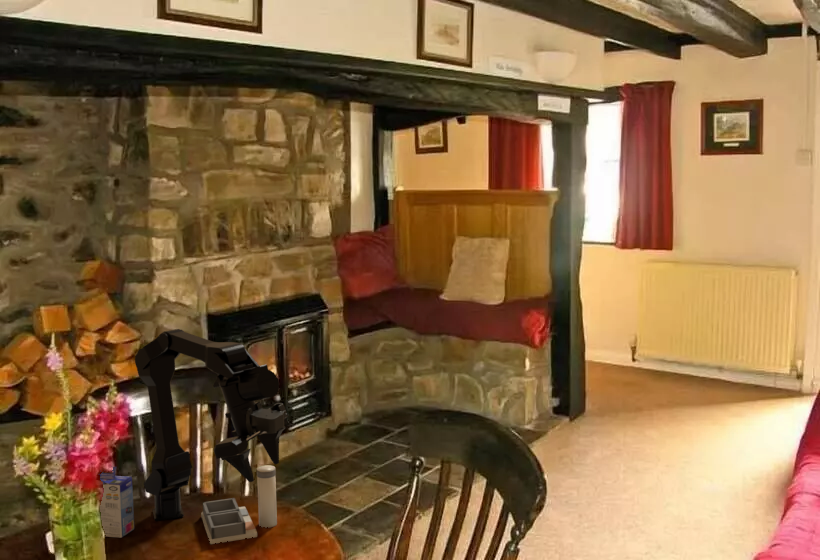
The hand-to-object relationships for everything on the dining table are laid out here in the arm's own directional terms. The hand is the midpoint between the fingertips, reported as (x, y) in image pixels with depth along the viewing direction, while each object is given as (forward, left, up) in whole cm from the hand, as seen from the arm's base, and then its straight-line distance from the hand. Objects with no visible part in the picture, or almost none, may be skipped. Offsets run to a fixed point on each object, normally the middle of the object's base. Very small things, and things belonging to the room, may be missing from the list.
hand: (264, 472), depth 181 cm
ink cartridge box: (-19, -31, -16) cm, 40 cm away
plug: (-10, +2, -16) cm, 19 cm away
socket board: (-12, -6, -16) cm, 21 cm away
